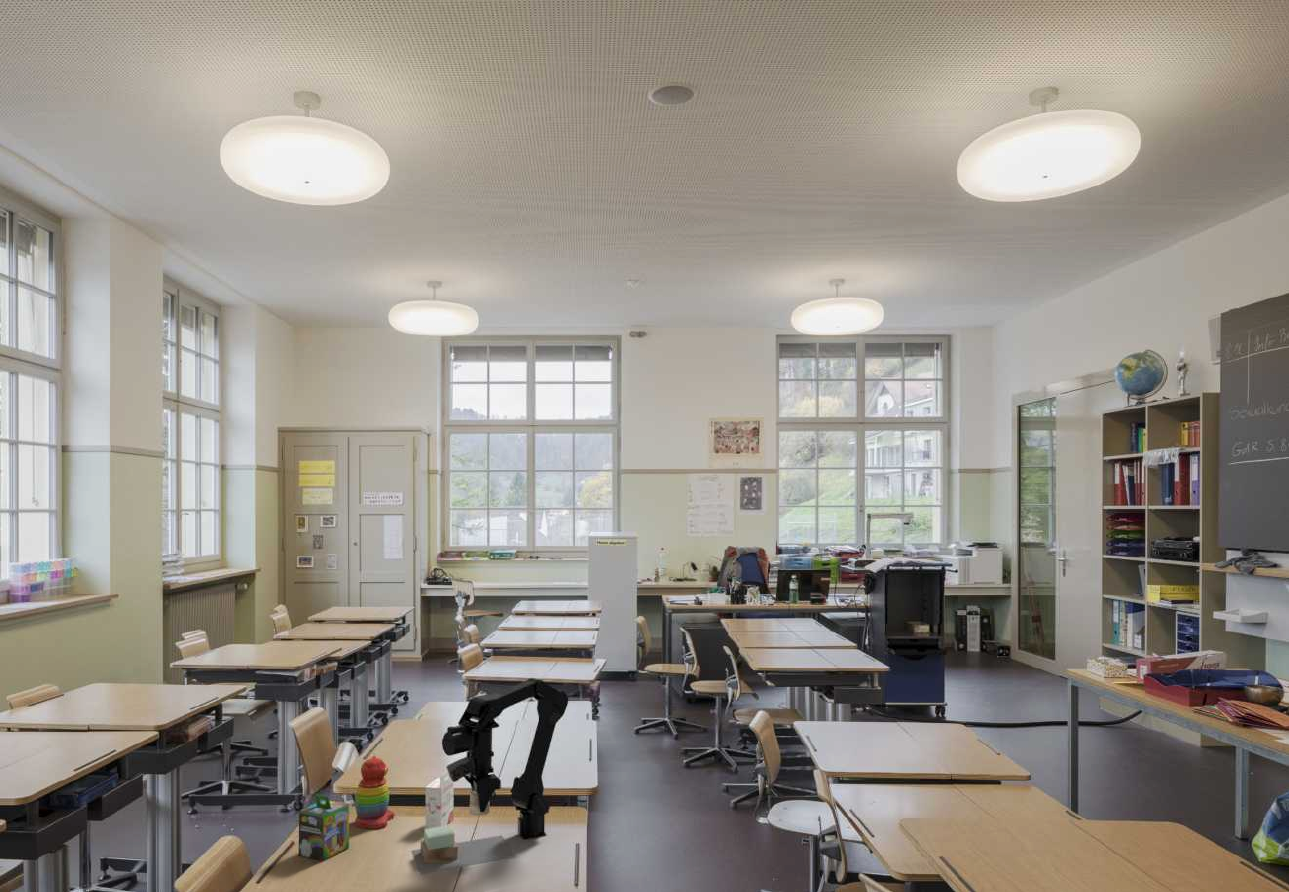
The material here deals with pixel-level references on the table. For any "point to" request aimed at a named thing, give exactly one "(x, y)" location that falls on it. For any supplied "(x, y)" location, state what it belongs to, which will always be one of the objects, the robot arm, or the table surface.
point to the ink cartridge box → (439, 802)
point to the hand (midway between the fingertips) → (479, 808)
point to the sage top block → (438, 837)
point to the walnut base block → (438, 853)
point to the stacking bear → (373, 796)
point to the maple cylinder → (476, 805)
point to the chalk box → (323, 829)
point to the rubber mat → (469, 854)
